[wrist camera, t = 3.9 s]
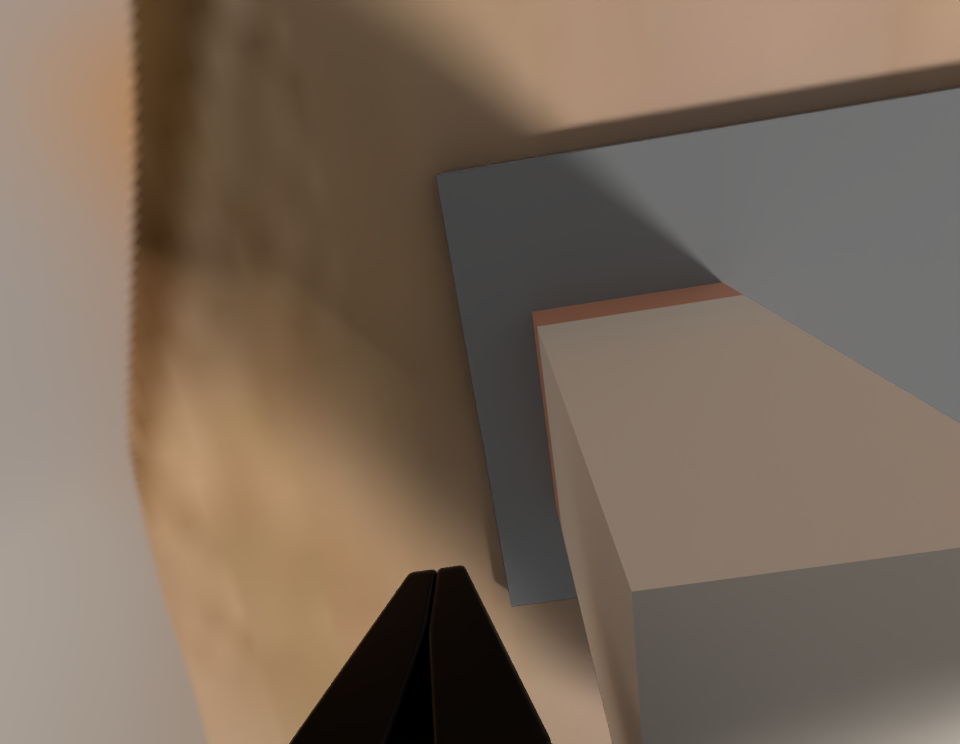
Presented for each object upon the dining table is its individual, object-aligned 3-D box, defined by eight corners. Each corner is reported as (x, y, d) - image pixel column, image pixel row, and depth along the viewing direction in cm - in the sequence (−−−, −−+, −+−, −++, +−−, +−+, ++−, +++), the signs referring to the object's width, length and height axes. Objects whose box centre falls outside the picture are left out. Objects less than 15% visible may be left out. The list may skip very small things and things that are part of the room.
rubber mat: (1107, 62, 11) (1135, 59, 11) (997, 527, 15) (1013, 539, 15) (436, 173, 12) (435, 175, 11) (510, 592, 16) (511, 606, 15)
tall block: (721, 282, 12) (1129, 525, 5) (720, 483, 14) (1006, 880, 7) (532, 311, 12) (631, 591, 5) (556, 506, 14) (653, 919, 7)
